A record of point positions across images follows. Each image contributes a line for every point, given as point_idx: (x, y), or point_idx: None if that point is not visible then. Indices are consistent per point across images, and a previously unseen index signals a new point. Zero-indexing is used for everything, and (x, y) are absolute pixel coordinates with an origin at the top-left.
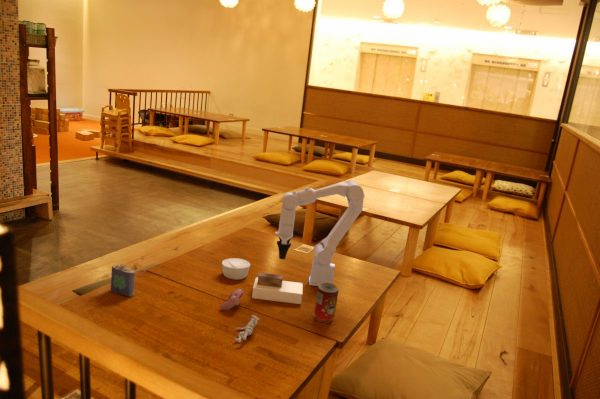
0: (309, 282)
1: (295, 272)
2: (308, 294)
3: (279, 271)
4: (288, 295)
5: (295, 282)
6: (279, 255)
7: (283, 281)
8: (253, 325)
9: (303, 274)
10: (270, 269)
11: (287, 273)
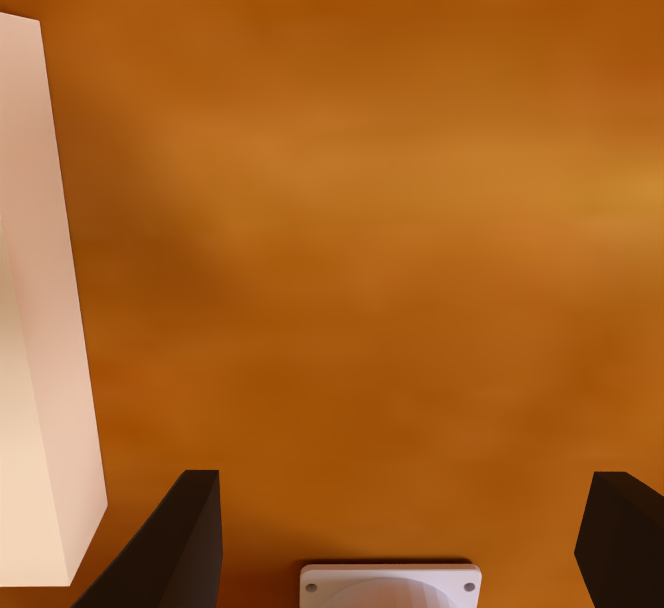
0: (337, 574)
1: (592, 454)
2: (101, 556)
3: (599, 300)
4: None
5: (49, 524)
6: (153, 518)
7: (12, 403)
8: None
9: (551, 519)
10: (649, 195)
11: (553, 382)
